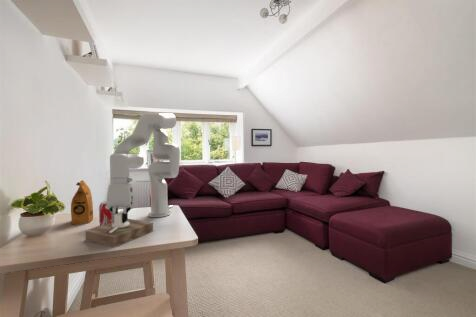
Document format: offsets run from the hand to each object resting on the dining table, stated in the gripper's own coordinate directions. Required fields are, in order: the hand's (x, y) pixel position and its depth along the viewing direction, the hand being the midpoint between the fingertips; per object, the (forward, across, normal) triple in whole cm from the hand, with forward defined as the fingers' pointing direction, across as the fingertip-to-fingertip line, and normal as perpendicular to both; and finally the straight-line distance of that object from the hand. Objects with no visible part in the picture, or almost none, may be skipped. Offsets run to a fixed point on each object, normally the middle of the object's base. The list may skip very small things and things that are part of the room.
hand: (120, 221), depth 102 cm
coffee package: (+6, +30, -24) cm, 39 cm away
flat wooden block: (+6, 0, 0) cm, 6 cm away
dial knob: (+2, 0, +3) cm, 4 cm away
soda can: (+6, +13, -16) cm, 21 cm away
